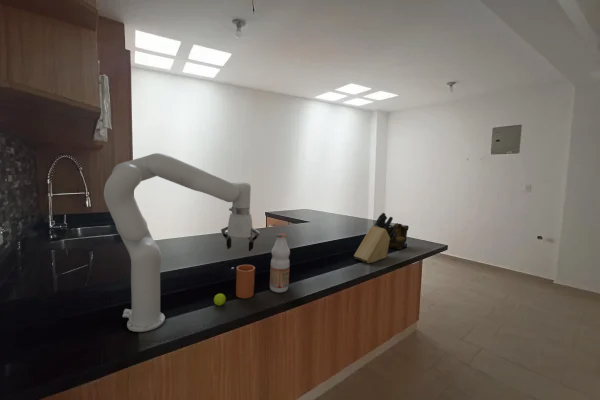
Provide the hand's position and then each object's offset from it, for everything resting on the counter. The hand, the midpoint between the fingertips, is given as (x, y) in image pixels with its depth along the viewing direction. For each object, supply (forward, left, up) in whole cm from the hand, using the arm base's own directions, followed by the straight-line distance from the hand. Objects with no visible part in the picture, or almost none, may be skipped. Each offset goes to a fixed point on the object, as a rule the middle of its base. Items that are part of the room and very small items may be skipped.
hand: (239, 249), depth 129 cm
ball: (-6, -6, -21) cm, 23 cm away
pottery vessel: (+97, +108, -24) cm, 147 cm away
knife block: (+75, +78, -24) cm, 111 cm away
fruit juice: (+17, +15, -24) cm, 33 cm away
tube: (+2, +6, -24) cm, 25 cm away
